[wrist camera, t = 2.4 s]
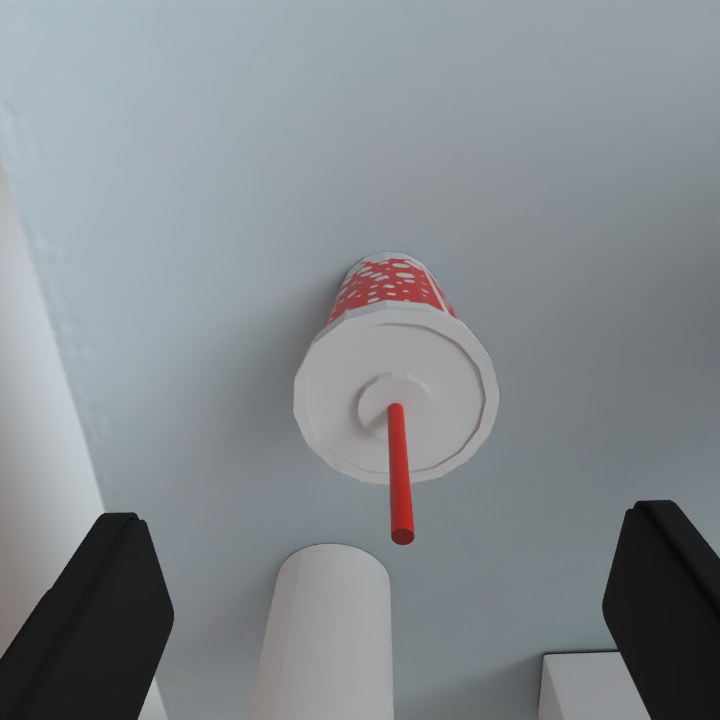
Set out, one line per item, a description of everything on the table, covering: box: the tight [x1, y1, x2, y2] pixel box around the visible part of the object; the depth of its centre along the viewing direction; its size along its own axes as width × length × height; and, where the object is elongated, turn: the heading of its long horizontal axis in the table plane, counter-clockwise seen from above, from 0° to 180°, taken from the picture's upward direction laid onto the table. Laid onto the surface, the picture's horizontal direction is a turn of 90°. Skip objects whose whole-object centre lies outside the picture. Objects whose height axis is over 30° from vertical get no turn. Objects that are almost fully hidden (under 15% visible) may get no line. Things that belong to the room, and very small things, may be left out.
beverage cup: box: [293, 251, 500, 545], centre depth 16 cm, size 6×6×14 cm
